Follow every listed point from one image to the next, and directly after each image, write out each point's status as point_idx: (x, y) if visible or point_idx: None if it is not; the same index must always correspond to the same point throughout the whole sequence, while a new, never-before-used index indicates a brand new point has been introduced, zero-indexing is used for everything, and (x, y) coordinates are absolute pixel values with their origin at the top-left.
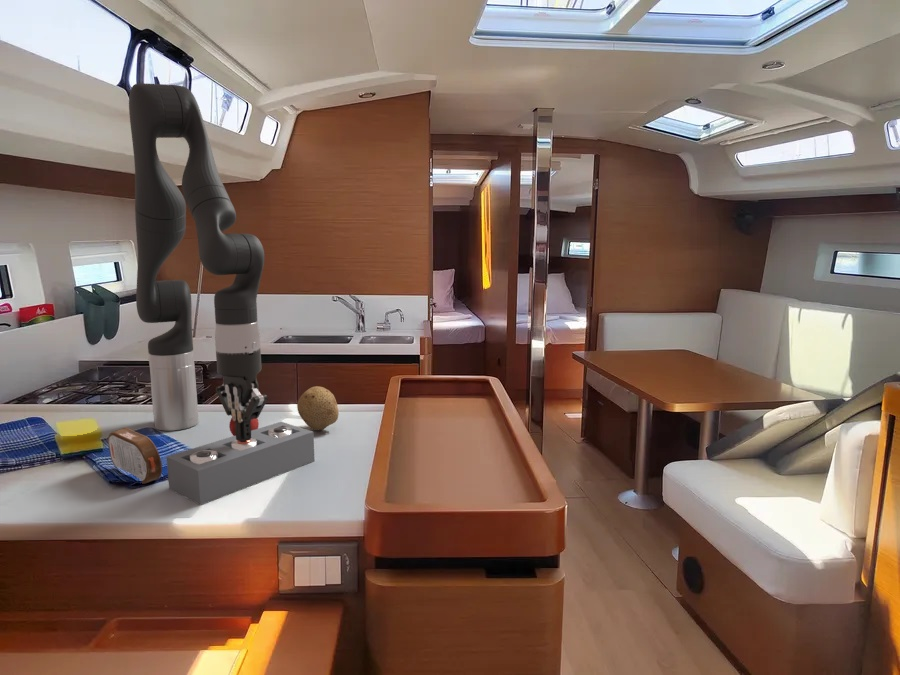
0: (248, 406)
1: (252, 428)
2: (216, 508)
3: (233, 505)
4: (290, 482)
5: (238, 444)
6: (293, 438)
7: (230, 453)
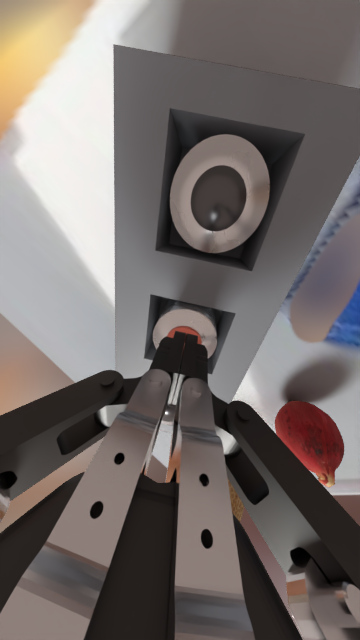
0: (19, 441)
1: (278, 425)
2: (112, 137)
3: (97, 175)
4: (102, 308)
5: (182, 322)
6: None
7: (158, 268)
